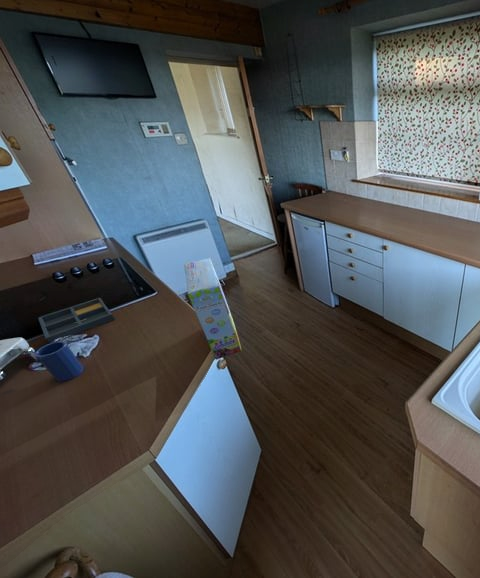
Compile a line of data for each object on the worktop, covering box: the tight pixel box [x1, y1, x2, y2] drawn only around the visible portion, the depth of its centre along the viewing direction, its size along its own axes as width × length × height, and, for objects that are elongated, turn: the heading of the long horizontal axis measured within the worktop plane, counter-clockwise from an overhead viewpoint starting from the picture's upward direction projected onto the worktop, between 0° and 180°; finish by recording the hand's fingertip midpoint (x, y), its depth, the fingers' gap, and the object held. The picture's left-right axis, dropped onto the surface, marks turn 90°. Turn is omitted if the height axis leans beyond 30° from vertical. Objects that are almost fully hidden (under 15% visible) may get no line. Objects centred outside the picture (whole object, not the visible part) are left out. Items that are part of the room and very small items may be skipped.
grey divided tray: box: [37, 297, 116, 344], centre depth 108 cm, size 18×18×3 cm
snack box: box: [183, 257, 243, 360], centre depth 95 cm, size 22×9×26 cm, turn 33°
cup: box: [34, 340, 85, 383], centre depth 85 cm, size 6×6×10 cm
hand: (17, 362), depth 83 cm, fingers open, 8 cm apart
